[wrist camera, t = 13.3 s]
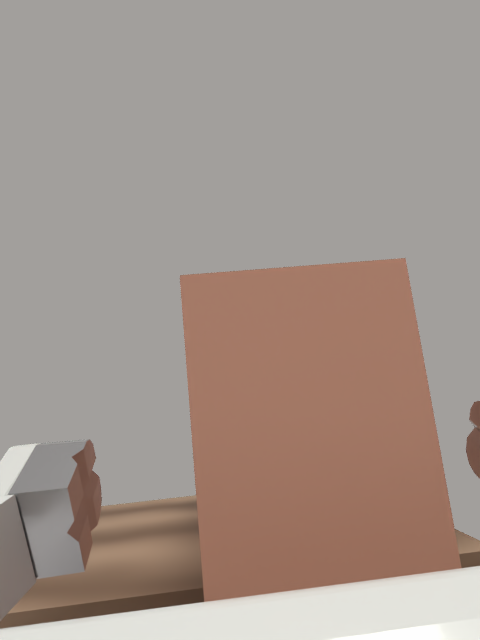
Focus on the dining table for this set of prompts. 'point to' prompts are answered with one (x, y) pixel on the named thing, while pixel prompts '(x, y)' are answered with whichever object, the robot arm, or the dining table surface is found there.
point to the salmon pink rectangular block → (312, 429)
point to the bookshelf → (140, 566)
